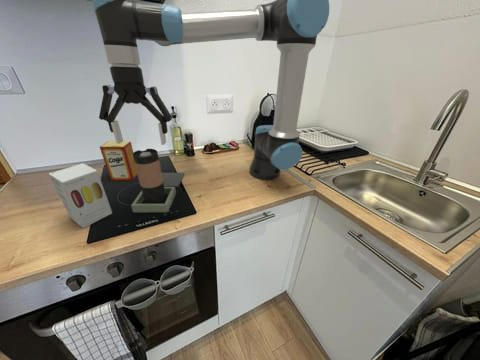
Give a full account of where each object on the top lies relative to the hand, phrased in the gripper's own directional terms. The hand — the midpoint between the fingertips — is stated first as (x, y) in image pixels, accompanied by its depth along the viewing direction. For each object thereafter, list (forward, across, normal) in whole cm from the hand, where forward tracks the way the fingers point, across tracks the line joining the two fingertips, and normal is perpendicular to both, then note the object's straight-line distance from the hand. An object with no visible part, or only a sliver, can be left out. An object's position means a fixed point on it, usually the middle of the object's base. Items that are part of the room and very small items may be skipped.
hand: (142, 143), depth 63 cm
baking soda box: (+24, +20, -20) cm, 36 cm away
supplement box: (+24, +19, +7) cm, 31 cm away
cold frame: (+23, 0, 0) cm, 23 cm away
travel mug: (+24, 0, 0) cm, 24 cm away
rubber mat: (+23, 0, -17) cm, 29 cm away
